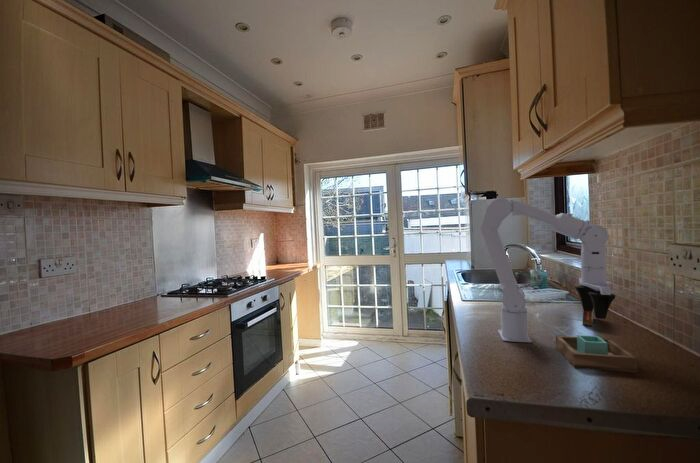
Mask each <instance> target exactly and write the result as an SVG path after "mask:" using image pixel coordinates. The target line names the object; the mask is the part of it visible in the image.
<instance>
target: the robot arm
mask: <svg viewBox="0 0 700 463" xmlns="http://www.w3.org/2000/svg"><path fill="white" fill-rule="evenodd" d="M511 213H512V214H511ZM510 214H511V215H512V216H525V217H528V218H530V219H533V220H536V221H539V222H542V223H545V224H546V225H549V226H551V229H552V231H553V232H556V233H558V234H561V235H564V236H566V237H569V238H571V239H574V240H579V241H581V249H580V272H581V273H580V274H581V276H580V277H579V278H578V285H574V289H575V291H576V292H577V294H578V297H579V299H580V302H581V306H582V311H583V310H584V311H593V310H594V318H595V319H598V320H606V318H607V315H608V312H609V309H610V307H611V304H612V303H613V301H614V300H615V299H616V294H613V293H612V289H611V287H610V286H612V282H609V281H607V251H606V250H607V249H606V247H607V246H606V243H607V242H608V241H609V238H610V235H609V232H608V231H607V230H606V229H605V227H603V226H601V225H597V224H594V223H592V221H591V220H587V219H586V220H584V219H581V218H578V217H574V216H573V213H570V212H567V213H563V212H560V213H559V214H556V215H555V214H554V213H550V212H548V211H545V210H543V209H540V208H538V207H535V206H533V205H530V204H528V203H526V202H522V201H517V200H514V199H510V200H509V199H508V198H505V197H497V198H493V199H492V200H491V202H490V203H489V204H488V205H487V207H486V208H485V213H484V216H483V218H482V223H481V226H480V230H481V231H480V232H481V233H482V237H483V239H484V242H485V245H486V247H487V251H488V253H489V256H490V260H491V261H492V264H493V267H494V270H495V273H496V276H497V279H498V281H499V285H500V288H501V293H502V299H501V300H502V305H501V307H500V308H501V309H500V329H497V332H498V334H499V336H500V338H501V340H502V341H504V342H515V343H517V342H518V343H532V340H531V338H530V337H529V336H528V308H527V307H526V304H527V301H526V299H525V297H526V295H525V292H524V290H523V289H522V288H521V287H520V286H519V285H518V282H517V279H516V278H515V276H514V275H515V274H514V272H513V269H512V267H511V264H510V262H509V259H508V256H507V253H506V250H505V248H504V244H503V242H502V239H501V237H500V234H499V232H498V231H499V230H498V229H499V228H500V226H501V224H502V222H503V221H504V220H505V219H506V218H507V217H509V216H510ZM593 308H594V309H593Z"/></svg>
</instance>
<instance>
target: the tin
mask: <svg viewBox="0 0 700 463" xmlns="http://www.w3.org/2000/svg"><path fill="white" fill-rule="evenodd" d="M594 318H595V314H594V308H593V311H584V310H583V309H582V326H583V325H584V326H589V327H590V326H593V323H594Z"/></svg>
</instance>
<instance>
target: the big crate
mask: <svg viewBox="0 0 700 463" xmlns="http://www.w3.org/2000/svg"><path fill="white" fill-rule="evenodd" d="M600 338H601V339H603V340H604V341H605V342H607V343H608V355H604V354H589V353H578V352H577V336H568V335H565V336H564V335H555V349H557V351H558V352H559V353H560V354H561V355H562V356H563V357H564V359H565V360H567V362H568V363H569V364H570V365H571V366H572V367H573V368H574V369H583V370H595V371H596V370H597V371H609V372H622V373H623V372H624V373H636V374H637V373H638V358H637V357H636V356H635V355H633V354H632V353H630V352H629V351H627V350H626V349H625V348H623V347H622V346H620V345H619V344H618V343H616V342H614V341H613V340H612V339H610V338H607V337H605V338H604V337H600Z"/></svg>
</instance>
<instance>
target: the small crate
mask: <svg viewBox="0 0 700 463" xmlns="http://www.w3.org/2000/svg"><path fill="white" fill-rule="evenodd" d="M576 337H577V352H578V353H589V354H604V355H608V343H607V342H605V341H604V340H603V339H601V338H602V337H600V336H598V335H581V334H577V335H576Z"/></svg>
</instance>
